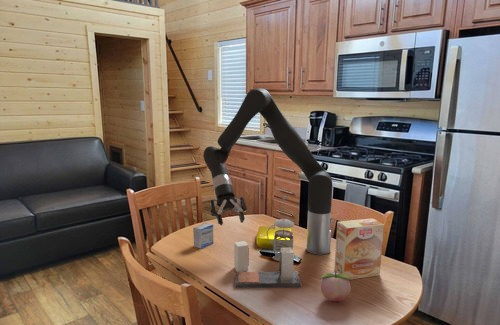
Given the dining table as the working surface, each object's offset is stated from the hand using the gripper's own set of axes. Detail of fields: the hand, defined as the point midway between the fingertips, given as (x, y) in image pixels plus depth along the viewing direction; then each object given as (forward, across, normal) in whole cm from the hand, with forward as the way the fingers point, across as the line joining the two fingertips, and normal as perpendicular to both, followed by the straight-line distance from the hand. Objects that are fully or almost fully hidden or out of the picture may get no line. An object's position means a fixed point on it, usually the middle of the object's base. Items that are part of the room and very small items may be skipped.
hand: (232, 223), depth 137 cm
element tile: (+4, +23, +17) cm, 29 cm away
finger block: (+18, 0, +3) cm, 18 cm away
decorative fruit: (+38, +20, -18) cm, 47 cm away
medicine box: (-1, -8, +21) cm, 23 cm away
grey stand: (+26, +5, -6) cm, 27 cm away
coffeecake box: (+30, +38, -10) cm, 50 cm away
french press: (+14, +19, +6) cm, 24 cm away
